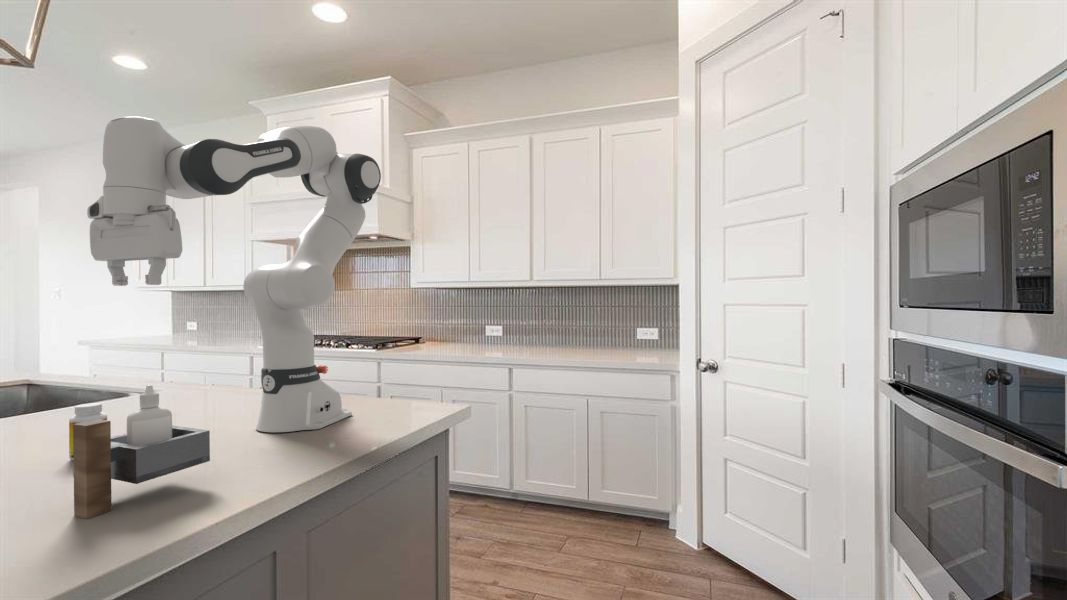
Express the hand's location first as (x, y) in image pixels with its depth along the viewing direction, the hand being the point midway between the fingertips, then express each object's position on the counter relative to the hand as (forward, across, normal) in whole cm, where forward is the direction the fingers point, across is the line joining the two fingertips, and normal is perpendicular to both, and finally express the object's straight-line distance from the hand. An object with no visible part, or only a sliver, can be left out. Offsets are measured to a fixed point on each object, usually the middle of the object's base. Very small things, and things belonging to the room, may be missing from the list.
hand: (136, 285), depth 90 cm
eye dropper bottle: (+28, -14, +6) cm, 32 cm away
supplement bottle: (+33, +17, -1) cm, 37 cm away
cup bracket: (+33, -14, +8) cm, 37 cm away
